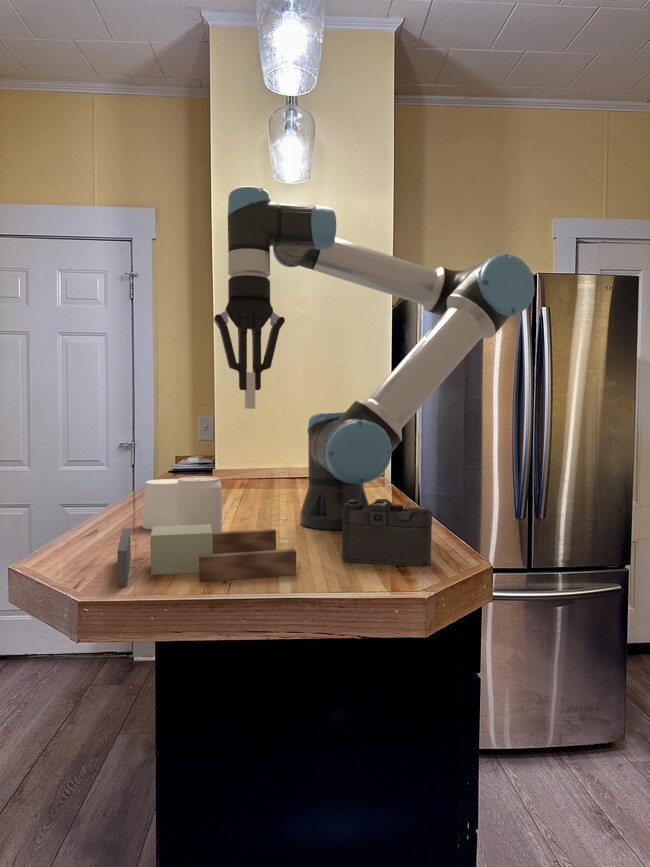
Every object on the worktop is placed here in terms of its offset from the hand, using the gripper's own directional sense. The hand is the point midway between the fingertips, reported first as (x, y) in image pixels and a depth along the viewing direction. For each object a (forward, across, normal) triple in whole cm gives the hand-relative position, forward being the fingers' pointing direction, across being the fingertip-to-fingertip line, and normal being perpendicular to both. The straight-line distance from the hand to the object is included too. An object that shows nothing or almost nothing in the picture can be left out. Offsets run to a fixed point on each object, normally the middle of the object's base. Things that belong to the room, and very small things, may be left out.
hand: (250, 408), depth 114 cm
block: (+25, +13, +16) cm, 32 cm away
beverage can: (+25, +9, +1) cm, 26 cm away
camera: (+25, -20, +18) cm, 37 cm away
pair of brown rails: (+24, +4, +16) cm, 29 cm away
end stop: (+24, +22, +16) cm, 36 cm away
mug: (+25, +14, -18) cm, 33 cm away
